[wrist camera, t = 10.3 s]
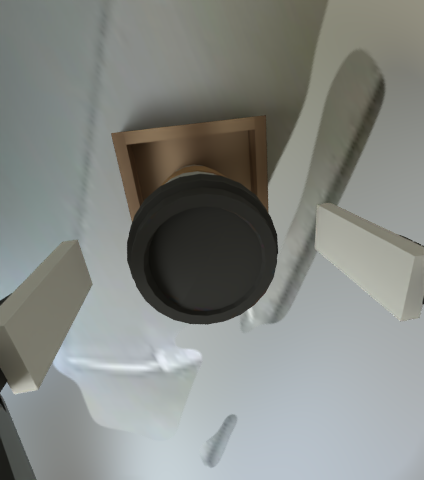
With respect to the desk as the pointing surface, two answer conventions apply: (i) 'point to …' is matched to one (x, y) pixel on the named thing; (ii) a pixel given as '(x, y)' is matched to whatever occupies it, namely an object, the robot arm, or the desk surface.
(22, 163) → the desk surface
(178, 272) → the coffee cup
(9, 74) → the desk surface
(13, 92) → the desk surface
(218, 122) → the tray
